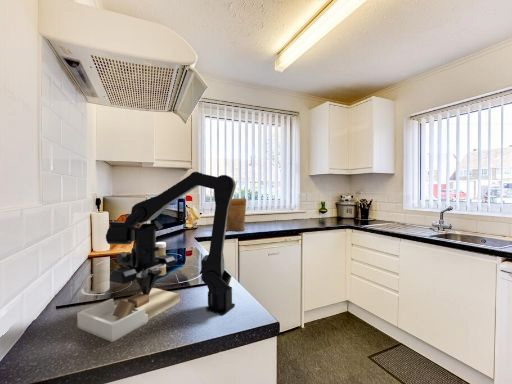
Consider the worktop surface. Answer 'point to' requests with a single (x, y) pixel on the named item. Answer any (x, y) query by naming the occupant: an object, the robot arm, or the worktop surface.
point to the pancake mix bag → (236, 215)
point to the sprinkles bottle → (159, 253)
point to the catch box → (109, 321)
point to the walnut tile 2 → (139, 299)
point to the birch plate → (158, 302)
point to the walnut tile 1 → (123, 309)
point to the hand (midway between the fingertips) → (146, 296)
